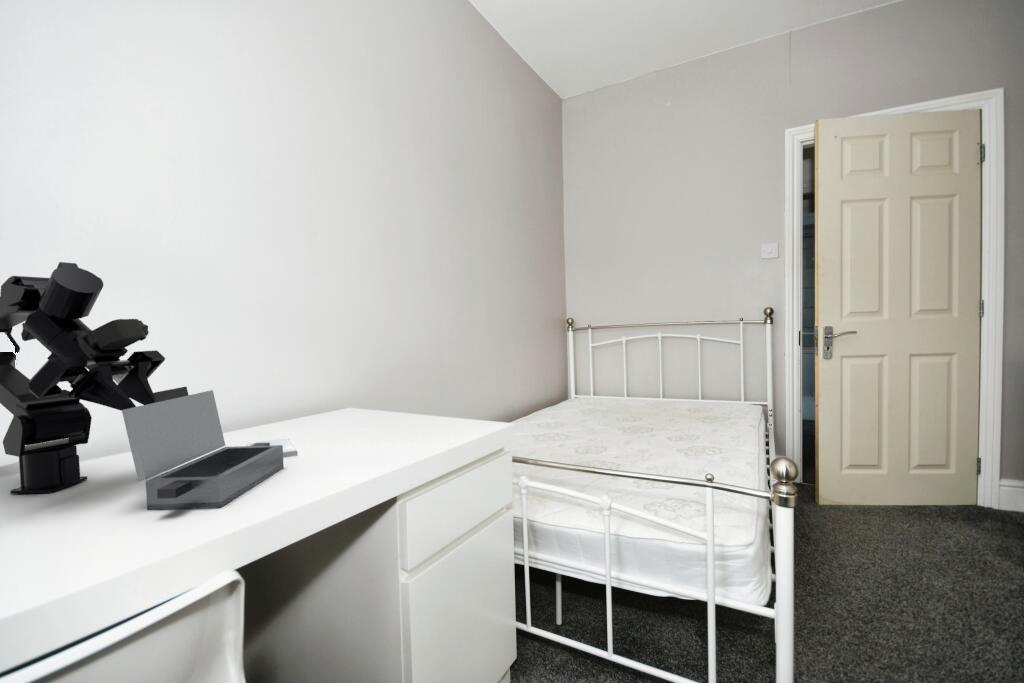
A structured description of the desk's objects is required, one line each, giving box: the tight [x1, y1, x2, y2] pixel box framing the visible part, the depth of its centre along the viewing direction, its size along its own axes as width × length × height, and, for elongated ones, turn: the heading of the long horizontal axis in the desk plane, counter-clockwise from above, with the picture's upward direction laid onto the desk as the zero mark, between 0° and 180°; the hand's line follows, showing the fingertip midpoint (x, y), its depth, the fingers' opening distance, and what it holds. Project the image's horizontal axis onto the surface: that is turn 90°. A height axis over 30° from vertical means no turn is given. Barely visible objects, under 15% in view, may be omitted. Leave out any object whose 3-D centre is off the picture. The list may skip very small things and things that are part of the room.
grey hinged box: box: [145, 442, 284, 511], centre depth 73 cm, size 10×24×4 cm, turn 0°
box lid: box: [121, 386, 226, 482], centre depth 73 cm, size 12×18×2 cm
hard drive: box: [245, 437, 298, 459], centre depth 93 cm, size 2×8×12 cm
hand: (145, 408), depth 73 cm, fingers open, 4 cm apart
